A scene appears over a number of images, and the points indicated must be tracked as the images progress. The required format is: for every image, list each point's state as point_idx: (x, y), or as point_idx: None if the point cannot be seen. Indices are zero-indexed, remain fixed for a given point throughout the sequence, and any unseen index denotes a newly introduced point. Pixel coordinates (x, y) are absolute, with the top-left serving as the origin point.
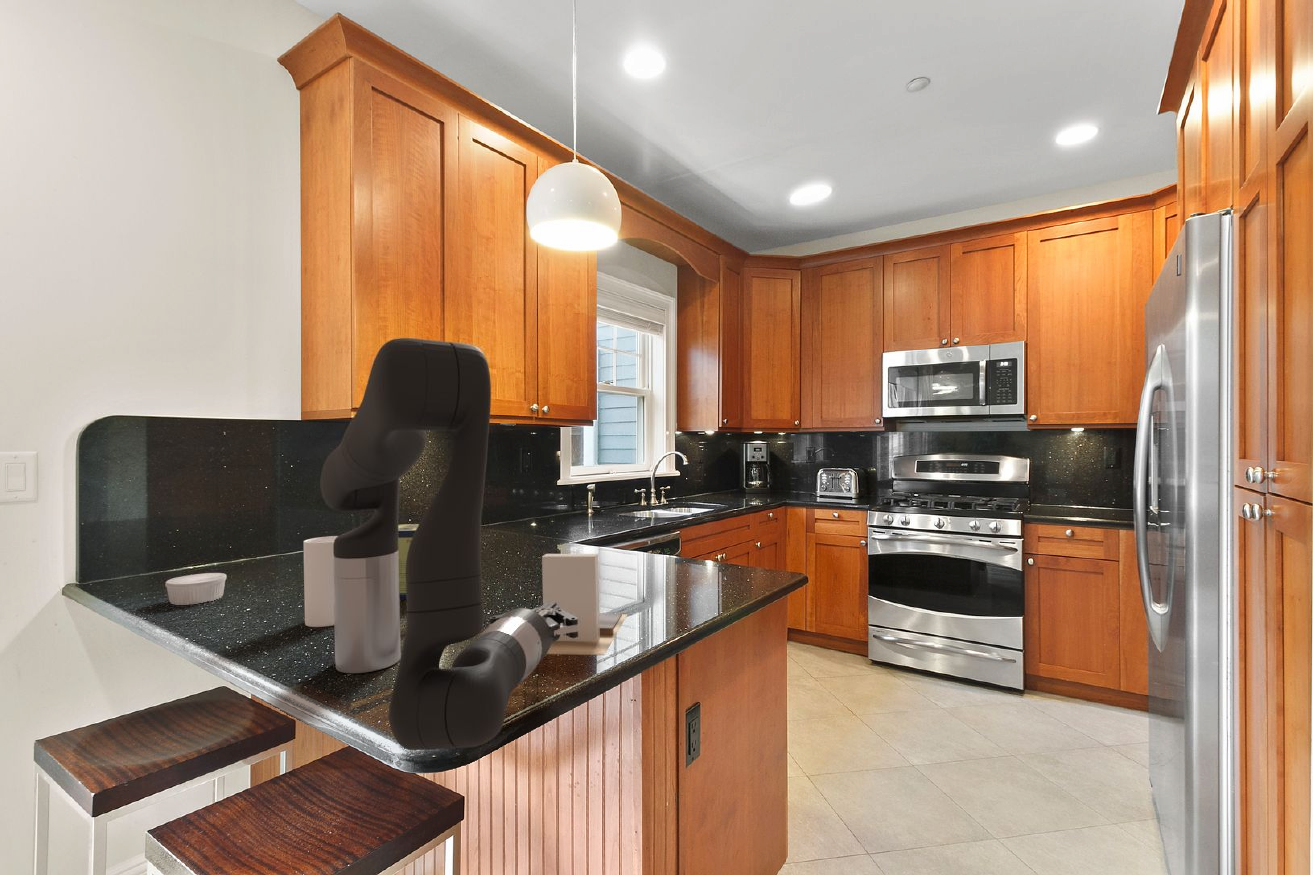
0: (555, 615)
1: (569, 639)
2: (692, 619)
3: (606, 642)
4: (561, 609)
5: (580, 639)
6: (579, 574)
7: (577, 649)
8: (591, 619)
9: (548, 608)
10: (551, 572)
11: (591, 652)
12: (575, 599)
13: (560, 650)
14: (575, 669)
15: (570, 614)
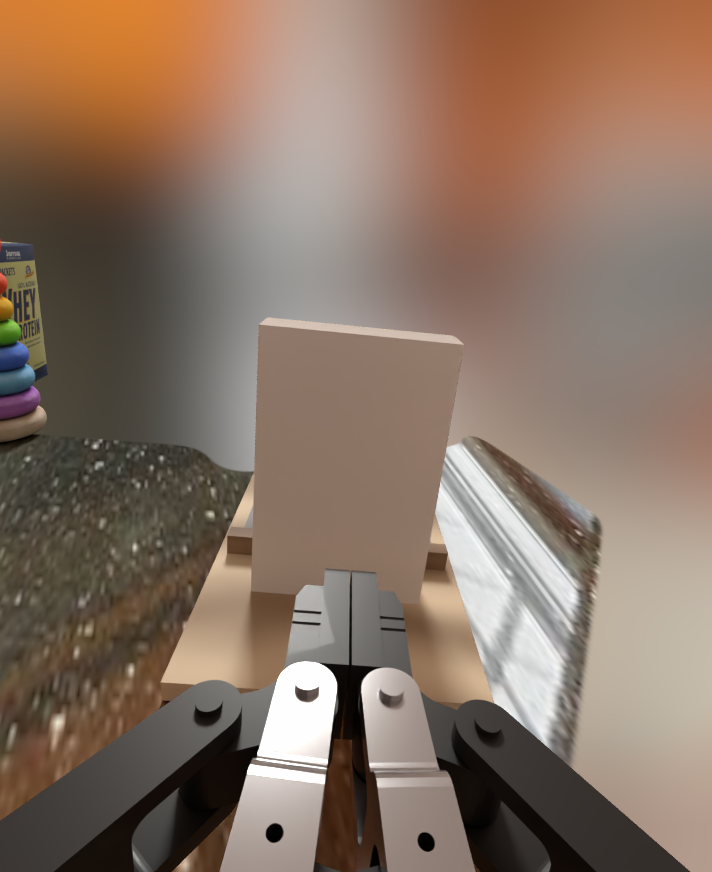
0: (461, 769)
1: None
2: (562, 500)
3: (450, 611)
4: (483, 700)
5: None
6: (395, 404)
7: None
8: (412, 545)
9: (393, 692)
10: (291, 387)
11: (440, 685)
12: (368, 483)
13: None
14: None
15: (647, 842)
